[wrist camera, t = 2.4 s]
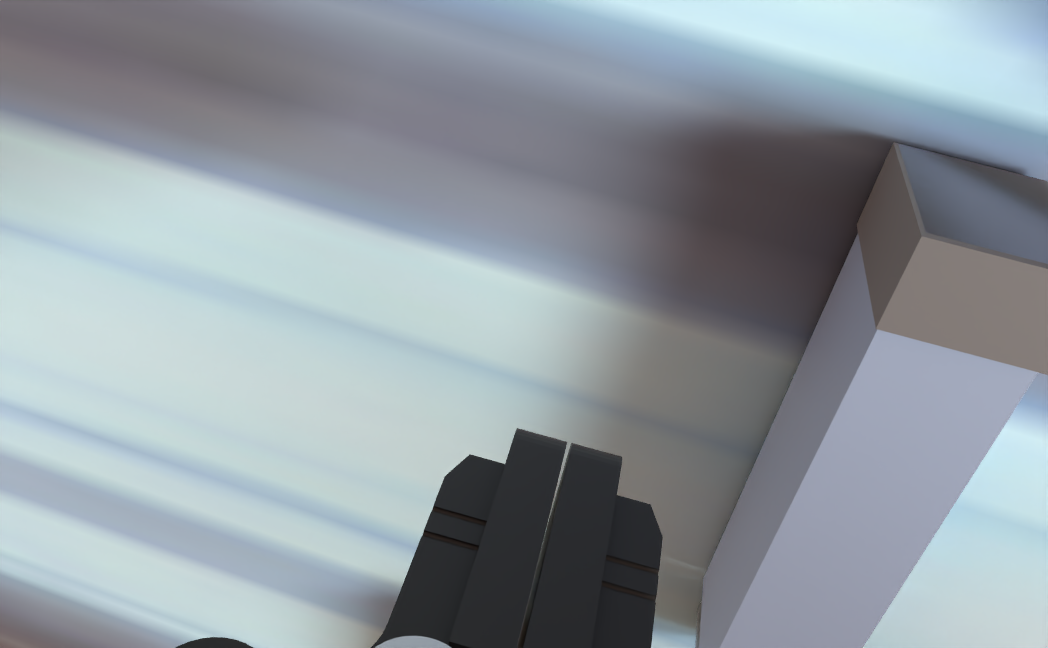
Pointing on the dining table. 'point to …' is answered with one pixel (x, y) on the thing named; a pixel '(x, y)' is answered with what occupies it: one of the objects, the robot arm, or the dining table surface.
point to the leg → (887, 405)
